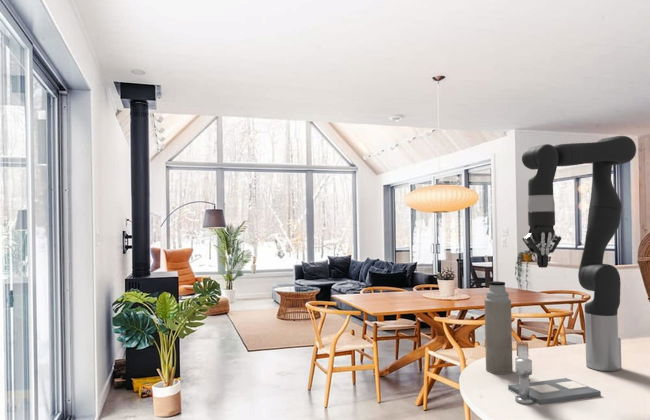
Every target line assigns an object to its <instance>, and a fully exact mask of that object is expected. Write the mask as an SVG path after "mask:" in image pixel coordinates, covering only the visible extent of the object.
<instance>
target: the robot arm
mask: <svg viewBox="0 0 650 420" xmlns="http://www.w3.org/2000/svg"><path fill="white" fill-rule="evenodd" d="M636 153H637V145H636V143H635V141H634V140H633V139H632V138H631V137H629V136H626V135H617V136H611V137H605V138H601V139H599V140H597V141H594V142H578V143H577V142H573V143H561V144H560V143H559V144H555V145H552V144H550V143H549V144H547V143H545V144H541V145H537V146H532V147H528V148H527V149H526V150H525V151H524V152H523V153H522V156H521V162H522V164H523V166H525V167H526V168H527V169H529V170H537V171H536V174H535V175H534V176H532V177H531V178H529V180H528V182H527V183H528V184H527V186H528V188H527V191H528V194H527V195H528V200H527V217H528V218H527V221H528V222H527V225H528V226H529V229H528V233H527V235H526V236H523V237H522V241H523V242H524V244H525V245H526V247H527V248H528V250H529V251H530V253H531V254H535V255H536V264H537V266H538V268H541V269H543V268H548V265H549V255H550V254H553V253H554V252H555V250H556V248H557V247H558V245H559V244H560V242H561V241H562V236H558V235H557V234H556V231H555V228H554V226H555V225H556V209H555V208H556V207H555V205H556V204H555V197H554V179H555V176H556V172H557V168H558V167H570V166H579V165H584V164H591V163H592V171H591V172H592V175H591V176H592V178H591V179H592V181H591V192H590V201H589V207H588V215H587V225H586V232H585V238H584V239H585V241H584V246H583V251H582V255H581V260H580V263H579V268H578V275H577V276H578V282H579V284H580V286H581V288H583V289H585V290H586V291H590V292H593V299H592V300H591V301H589V302H586V303H585V304H584V336H585V339H584V340H585V365H586V367H588V368H590V369H592V370H596V371H602V372H617V371H619V370H620V369H622V368H623V367H622V338H620V337H619V321H618V320H619V319H618V311H619V310H618V309H619V307H620V304H621V282H622V281H621V275H620V273H619V271H618V269H617V268H616V267H615V266H614V265H612V264H609V263H607V264H606V263H604V256H605V252H606V249H607V247H608V245H609V243H610V241H611V240H612V239H613V237H614V235H615V234H616V232H617V231H618V229H619V226H620V223H621V215H622V208H623V207H622V202H621V198H620V197H619V195H618V193H617V191H616V189H615V187H614V185H613V182H612V169H613V166H617V165H624V164H626V163H629V162H631V161H632V160H633V159H634V158H635V156H636Z"/></svg>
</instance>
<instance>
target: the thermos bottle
mask: <svg viewBox="0 0 650 420" xmlns="http://www.w3.org/2000/svg"><path fill="white" fill-rule="evenodd" d="M488 285H489V287H488V289H489V290H488V291H486V294H485V297H486V298H484V337H485V338H484V339H485V370H486V372H489V373H492V374H498V375H509V374H512V373H513V371H514V370H513V368H514V367H513V366H514V365H513V340H512V339H513V338H512V336H513V335H512V333H513V330H512V329H513V327H512V326H513V325H512V300H511V299H509V297H510V295H509V292H508V291H507V290H506V282H505V281H498V280H497V281H495V280H493V281H489V282H488Z"/></svg>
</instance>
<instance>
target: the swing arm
mask: <svg viewBox="0 0 650 420" xmlns="http://www.w3.org/2000/svg"><path fill="white" fill-rule="evenodd" d="M514 361H515V362H514V363H515V369H514V370H515V374H517V375H518V376H519V375H529V376H531V375H533V365H532V364H533V362H532V361H533V360H532V359H531V358H529V341H516V358H515V359H514Z"/></svg>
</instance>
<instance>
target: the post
mask: <svg viewBox="0 0 650 420" xmlns="http://www.w3.org/2000/svg"><path fill="white" fill-rule="evenodd" d="M529 383H530V375H519V374H518V384H519V395H516V396H515V399H514V400H515V402H516V403H518V404H521V405H534V403H535V402H534V399H533V398H531V397H529Z"/></svg>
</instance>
